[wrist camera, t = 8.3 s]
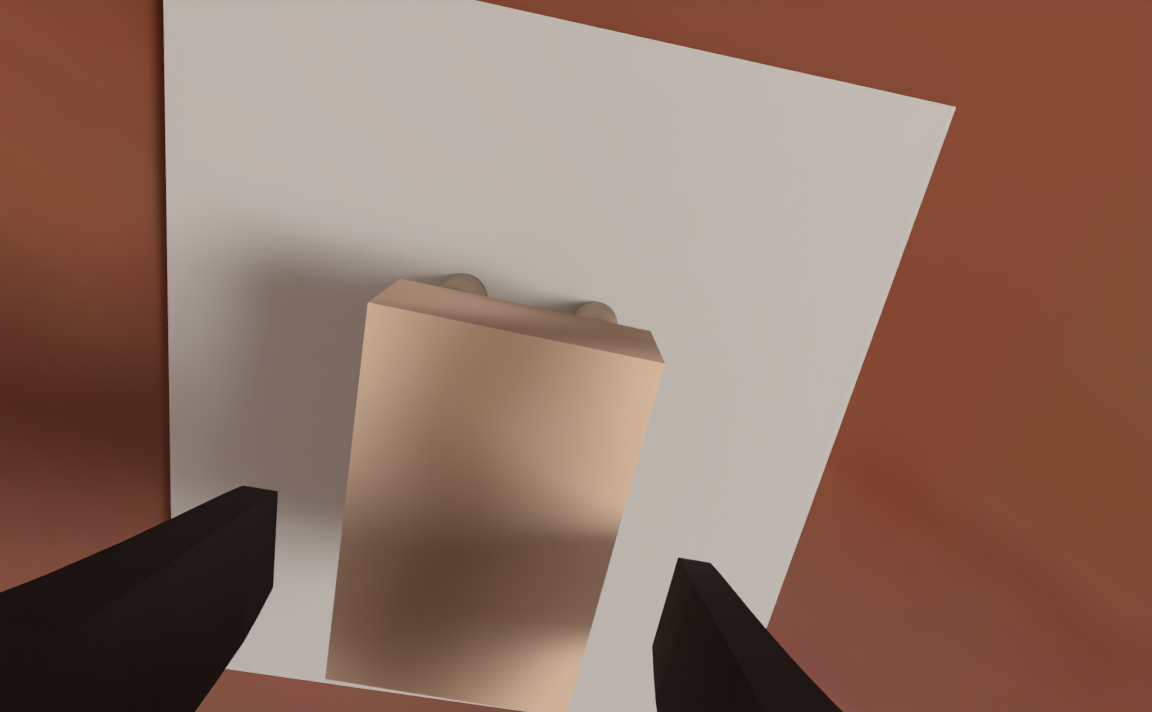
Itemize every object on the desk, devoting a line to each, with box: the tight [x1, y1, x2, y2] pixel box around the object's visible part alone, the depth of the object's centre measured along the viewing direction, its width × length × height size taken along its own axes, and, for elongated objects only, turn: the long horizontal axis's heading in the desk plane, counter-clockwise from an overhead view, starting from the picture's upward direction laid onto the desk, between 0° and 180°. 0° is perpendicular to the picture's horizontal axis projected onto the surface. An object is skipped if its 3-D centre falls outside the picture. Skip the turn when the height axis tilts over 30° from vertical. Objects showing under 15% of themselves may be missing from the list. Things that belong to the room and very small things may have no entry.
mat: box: [163, 0, 956, 712], centre depth 17 cm, size 20×18×1 cm
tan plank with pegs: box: [325, 273, 665, 712], centre depth 14 cm, size 5×8×6 cm, turn 168°
